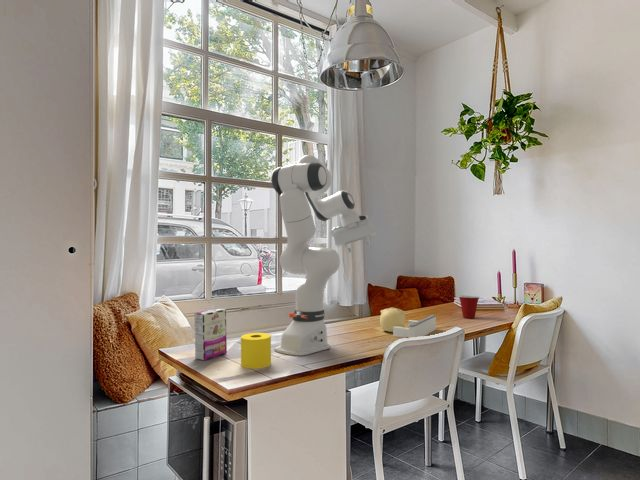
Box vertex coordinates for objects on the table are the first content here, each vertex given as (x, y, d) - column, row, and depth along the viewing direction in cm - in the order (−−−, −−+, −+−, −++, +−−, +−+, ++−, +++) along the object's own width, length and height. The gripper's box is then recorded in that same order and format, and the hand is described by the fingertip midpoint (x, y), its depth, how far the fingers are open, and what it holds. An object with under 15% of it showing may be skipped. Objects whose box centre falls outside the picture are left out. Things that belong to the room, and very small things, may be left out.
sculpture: (404, 328, 196) (404, 305, 196) (405, 334, 184) (405, 310, 184) (380, 328, 198) (380, 305, 198) (379, 333, 186) (379, 309, 186)
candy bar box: (217, 351, 156) (217, 308, 156) (227, 353, 154) (227, 309, 154) (194, 358, 147) (193, 312, 147) (203, 361, 144) (203, 313, 144)
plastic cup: (481, 317, 224) (481, 295, 224) (477, 320, 215) (477, 297, 215) (461, 315, 230) (460, 293, 230) (456, 318, 221) (456, 295, 221)
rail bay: (413, 341, 171) (413, 325, 171) (388, 338, 177) (388, 322, 177) (435, 329, 194) (435, 315, 194) (413, 326, 200) (413, 312, 200)
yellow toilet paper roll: (236, 363, 142) (236, 335, 142) (262, 358, 148) (262, 331, 148) (248, 370, 134) (248, 341, 134) (276, 365, 140) (276, 336, 140)
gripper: (329, 227, 197) (337, 254, 193) (370, 214, 197) (379, 241, 192) (330, 231, 203) (338, 257, 199) (370, 218, 203) (379, 245, 198)
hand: (359, 249), depth 196 cm, fingers open, 8 cm apart
